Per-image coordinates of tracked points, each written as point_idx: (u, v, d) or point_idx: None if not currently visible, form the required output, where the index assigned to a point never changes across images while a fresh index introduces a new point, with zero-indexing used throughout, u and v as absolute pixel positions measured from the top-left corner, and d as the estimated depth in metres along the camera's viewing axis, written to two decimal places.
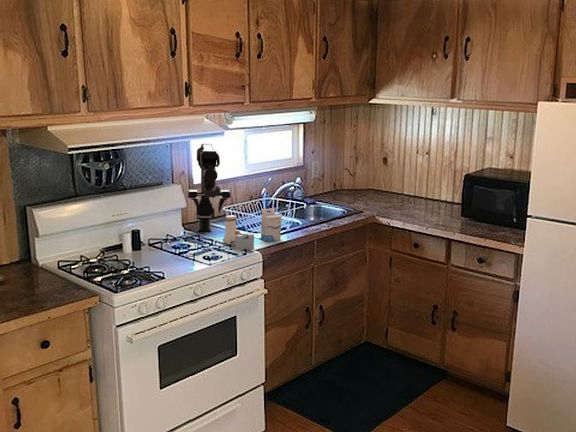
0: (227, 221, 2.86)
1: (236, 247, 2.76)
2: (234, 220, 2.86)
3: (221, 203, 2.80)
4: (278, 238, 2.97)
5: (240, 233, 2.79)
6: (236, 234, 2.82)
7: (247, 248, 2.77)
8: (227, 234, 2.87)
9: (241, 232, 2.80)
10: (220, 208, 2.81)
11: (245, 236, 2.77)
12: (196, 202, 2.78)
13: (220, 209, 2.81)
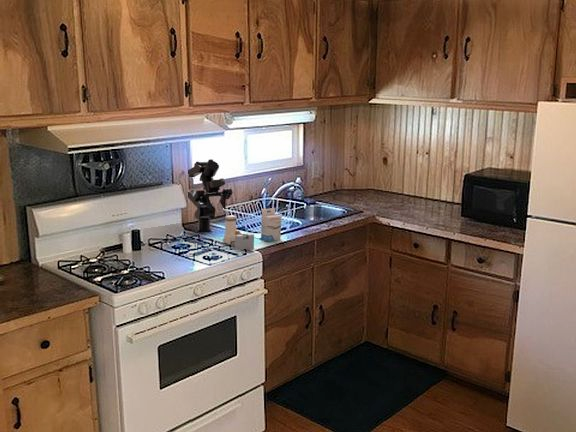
0: (227, 221, 2.86)
1: (236, 247, 2.76)
2: (234, 220, 2.86)
3: (224, 199, 3.00)
4: (278, 238, 2.97)
5: (240, 233, 2.79)
6: (236, 234, 2.82)
7: (247, 248, 2.77)
8: (227, 234, 2.87)
9: (241, 232, 2.80)
10: (225, 203, 2.99)
11: (245, 236, 2.77)
12: (208, 199, 2.95)
13: (225, 204, 2.98)
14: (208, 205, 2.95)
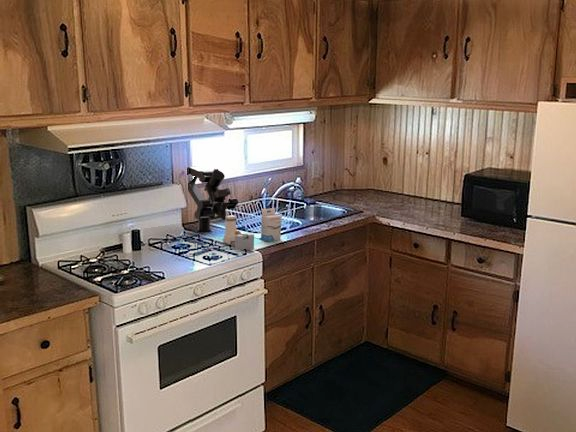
0: (227, 221, 2.86)
1: (236, 247, 2.76)
2: (234, 220, 2.86)
3: (224, 209, 2.94)
4: (278, 238, 2.97)
5: (240, 233, 2.79)
6: (236, 234, 2.82)
7: (247, 248, 2.77)
8: (227, 234, 2.87)
9: (241, 232, 2.80)
10: (224, 214, 2.93)
11: (245, 236, 2.77)
12: (219, 209, 2.93)
13: (225, 215, 2.93)
14: (220, 215, 2.93)
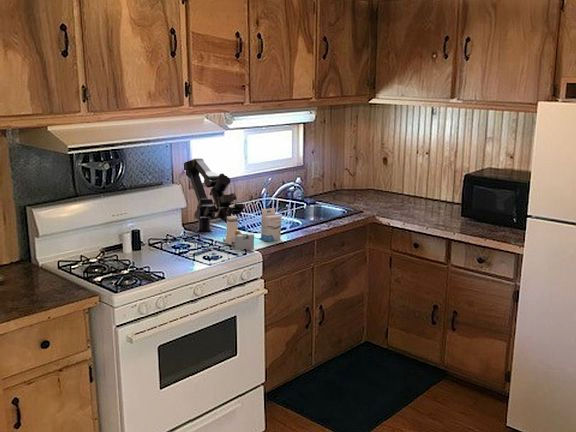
0: (228, 222, 2.85)
1: (236, 247, 2.76)
2: (235, 221, 2.85)
3: (230, 214, 2.90)
4: (278, 238, 2.97)
5: (240, 233, 2.79)
6: (236, 234, 2.82)
7: (247, 248, 2.77)
8: (228, 235, 2.86)
9: (241, 232, 2.80)
10: None
11: (245, 236, 2.77)
12: (225, 214, 2.88)
13: None
14: (225, 220, 2.89)
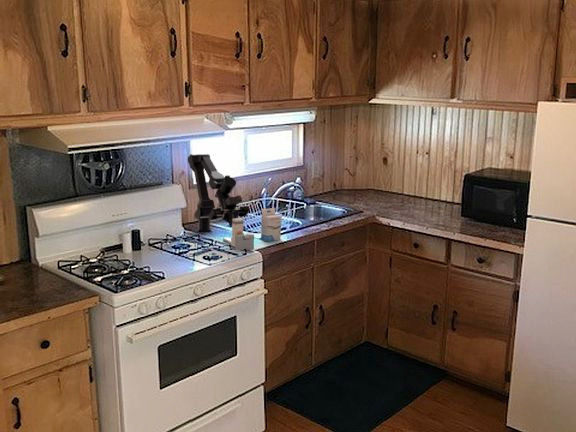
0: (234, 224, 2.80)
1: (236, 247, 2.76)
2: (241, 223, 2.81)
3: (235, 217, 2.85)
4: (278, 238, 2.97)
5: (242, 234, 2.77)
6: None
7: (247, 248, 2.77)
8: (234, 237, 2.81)
9: (243, 233, 2.78)
10: None
11: (247, 237, 2.75)
12: (230, 216, 2.84)
13: None
14: (231, 223, 2.84)
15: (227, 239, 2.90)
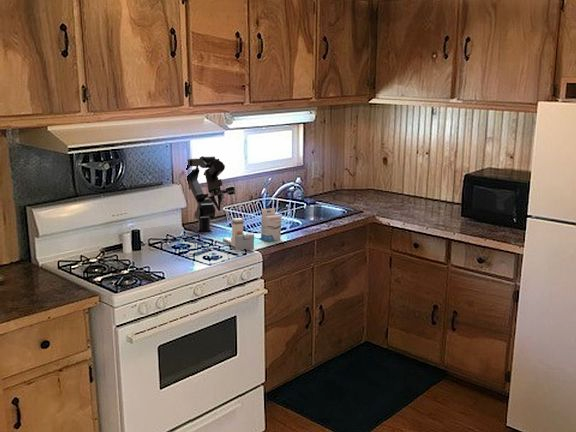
0: (234, 224, 2.80)
1: (236, 247, 2.76)
2: (241, 223, 2.81)
3: (219, 200, 2.95)
4: (278, 238, 2.97)
5: (242, 234, 2.77)
6: None
7: (247, 248, 2.77)
8: (234, 237, 2.81)
9: (243, 233, 2.78)
10: (219, 205, 2.95)
11: (247, 237, 2.75)
12: (214, 200, 2.95)
13: (220, 206, 2.94)
14: None
15: (227, 239, 2.90)
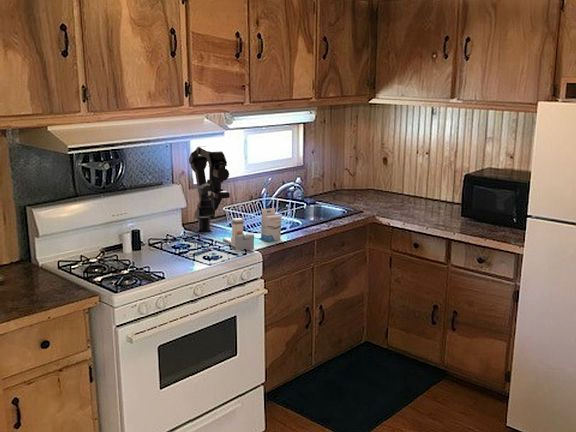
0: (234, 224, 2.80)
1: (236, 247, 2.76)
2: (241, 223, 2.81)
3: (213, 201, 2.94)
4: (278, 238, 2.97)
5: (242, 234, 2.77)
6: None
7: (247, 248, 2.77)
8: (234, 237, 2.81)
9: (243, 233, 2.78)
10: (214, 206, 2.95)
11: (247, 237, 2.75)
12: (211, 199, 2.96)
13: (214, 207, 2.95)
14: None
15: (227, 239, 2.90)
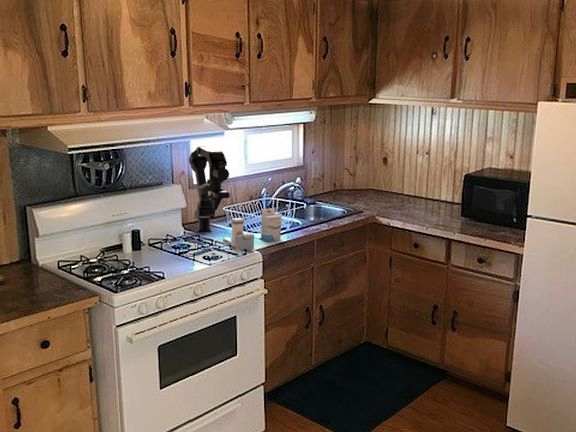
0: (234, 224, 2.80)
1: (236, 247, 2.76)
2: (241, 223, 2.81)
3: (213, 201, 2.94)
4: (278, 238, 2.97)
5: (242, 234, 2.77)
6: None
7: (247, 248, 2.77)
8: (234, 237, 2.81)
9: (243, 233, 2.78)
10: (214, 206, 2.95)
11: (247, 237, 2.75)
12: (211, 199, 2.96)
13: (214, 207, 2.95)
14: None
15: (227, 239, 2.90)
